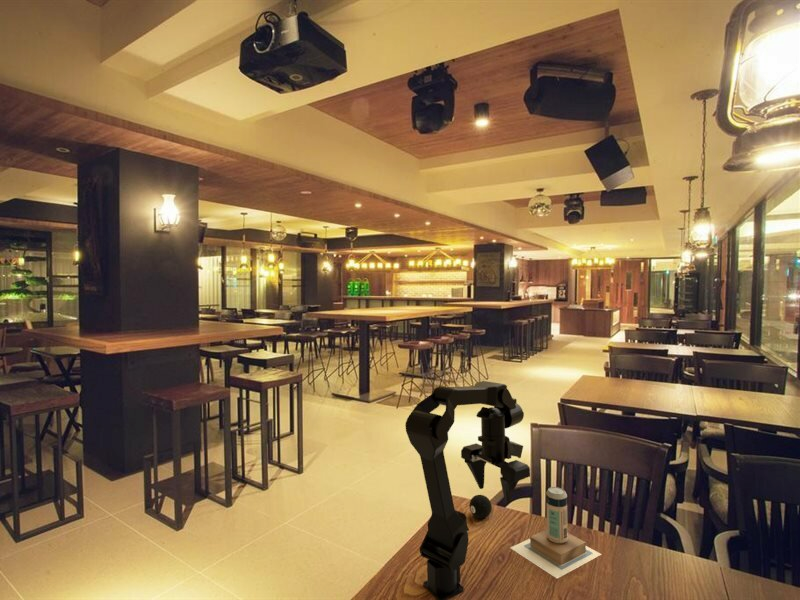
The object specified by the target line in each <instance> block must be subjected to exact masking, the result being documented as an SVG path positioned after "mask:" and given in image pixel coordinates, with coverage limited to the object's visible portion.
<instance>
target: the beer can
mask: <svg viewBox="0 0 800 600" xmlns="http://www.w3.org/2000/svg"><path fill="white" fill-rule="evenodd" d="M545 495H546V498H545V499H546V503H545V505H546V529H547V538H548V539H549V540H550V541H552V542H554V543H558V544H561V543H564V542H566V541H567V540H568V537H567V533H568V494H567V492H566V490H565V489H563V488H562V487H558V486H551V487H549V488H548V489H547V491H546V492H545Z"/></svg>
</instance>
